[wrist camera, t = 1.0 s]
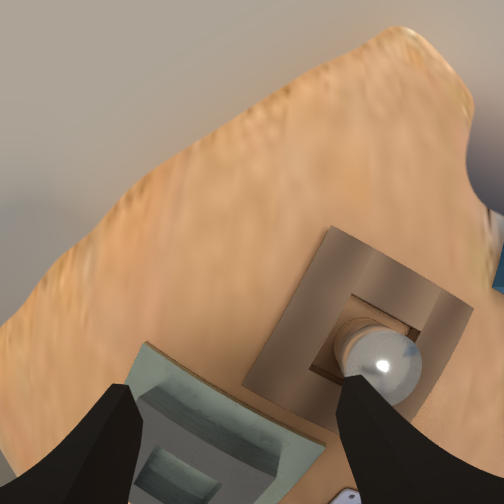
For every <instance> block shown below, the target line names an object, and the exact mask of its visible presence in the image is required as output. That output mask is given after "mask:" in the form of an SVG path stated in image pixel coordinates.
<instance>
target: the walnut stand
mask: <svg viewBox="0 0 504 504" xmlns="http://www.w3.org/2000/svg"><path fill="white" fill-rule="evenodd" d="M351 295H353V296H355V297H357V298H359V299H360V300H362V301H364V302H366V303H368V304H370V305H371V306H373V307H375V308H377V309H379V310H380V311H382V312H384V313H386V314H388V315H390V316H391V317H393V318H395V319H397V320H399V321H400V322H402V323H404V324H406V325H408V326H409V327H411V330H410V332H409V334H408V336H407V337H408V338H409V339H410V340H412V341H413V342H414V343H415V345H416V346H417V348H418V349H419V352H420V354H421V359H422V371H421V375H420V378H419V381H418V383H417V385H416V387H415V388H414V390H413V391H412V392H411V393H410V395H408V396H407V397H406V398H405V399H404V400H402V401H401V402H399V403H398V404H395V405H393V406H392V407H393V408H394V409H395V410H396V411H397V412H398V413H400V414H401V415H402V416H403V417H404V418H405V419H406V420H407V421H408V422H409V423H411V421H412V420H413V418H414V417H415V415H416V414H417V412H418V411H419V409H420V408H421V406H422V405H423V403H424V402H425V400H426V399H427V397H428V395H429V394H430V392H431V391H432V389H433V387H434V386H435V384H436V382H437V381H438V379H439V377H440V375H441V374H442V372H443V370H444V368H445V367H446V365H447V363H448V361H449V359H450V357H451V355H452V354H453V352H454V350H455V348H456V346H457V344H458V342H459V340H460V338H461V336H462V334H463V332H464V329H465V327H466V325H467V323H468V321H469V319H470V316H471V314H472V312H473V310H474V308H473V307H471V306H470V305H468V304H466V303H465V302H463V301H462V300H460V299H459V298H457V297H455V296H454V295H452V294H451V293H449V292H447V291H446V290H444V289H442V288H441V287H439V286H438V285H436V284H434V283H433V282H431V281H429V280H428V279H426V278H424V277H423V276H421V275H419V274H418V273H416V272H414V271H413V270H411V269H409V268H407V267H406V266H404V265H402V264H401V263H399V262H397V261H395V260H394V259H392V258H390V257H388V256H387V255H385V254H383V253H381V252H380V251H378V250H376V249H374V248H372V247H371V246H369V245H367V244H365V243H363V242H362V241H360V240H358V239H356V238H354V237H352V236H351V235H349V234H347V233H345V232H343V231H341V230H339V229H338V228H336V227H334V226H332V225H331V226H330V228H329V230H328V232H327V234H326V236H325V238H324V240H323V242H322V244H321V246H320V248H319V250H318V251H317V253H316V255H315V257H314V259H313V261H312V263H311V265H310V267H309V268H308V270H307V272H306V274H305V276H304V278H303V280H302V281H301V283H300V285H299V287H298V289H297V290H296V292H295V294H294V296H293V298H292V300H291V301H290V303H289V305H288V307H287V308H286V310H285V312H284V314H283V316H282V317H281V319H280V321H279V323H278V324H277V326H276V328H275V330H274V331H273V333H272V335H271V336H270V338H269V340H268V342H267V343H266V345H265V347H264V348H263V350H262V352H261V353H260V355H259V357H258V359H257V360H256V362H255V364H254V365H253V367H252V369H251V370H250V372H249V373H248V375H247V377H246V378H245V380H244V382H243V383H242V386H244V387H245V388H247V389H249V390H251V391H252V392H254V393H256V394H258V395H260V396H262V397H263V398H265V399H267V400H269V401H271V402H273V403H275V404H276V405H278V406H280V407H282V408H284V409H286V410H288V411H290V412H292V413H294V414H296V415H298V416H300V417H302V418H304V419H306V420H308V421H310V422H313V423H315V424H317V425H319V426H321V427H323V428H325V429H328V430H330V431H332V432H334V433H336V434H339V430H338V425H337V420H336V415H335V413H336V409H337V406H338V402H339V398H340V394H341V390H342V386H343V381H344V380H342V379H340V378H338V377H336V376H334V375H332V374H330V373H328V372H326V371H324V370H322V369H320V368H318V367H316V366H315V365H313V364H312V362H313V361H314V359H315V357H316V356H317V354H318V352H319V351H320V349H321V347H322V346H323V344H324V342H325V341H326V339H327V337H328V335H329V334H330V332H331V330H332V328H333V327H334V325H335V323H336V321H337V320H338V318H339V316H340V314H341V312H342V311H343V309H344V307H345V305H346V303H347V301H348V300H349V298H350V296H351ZM339 435H340V434H339Z"/></svg>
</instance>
